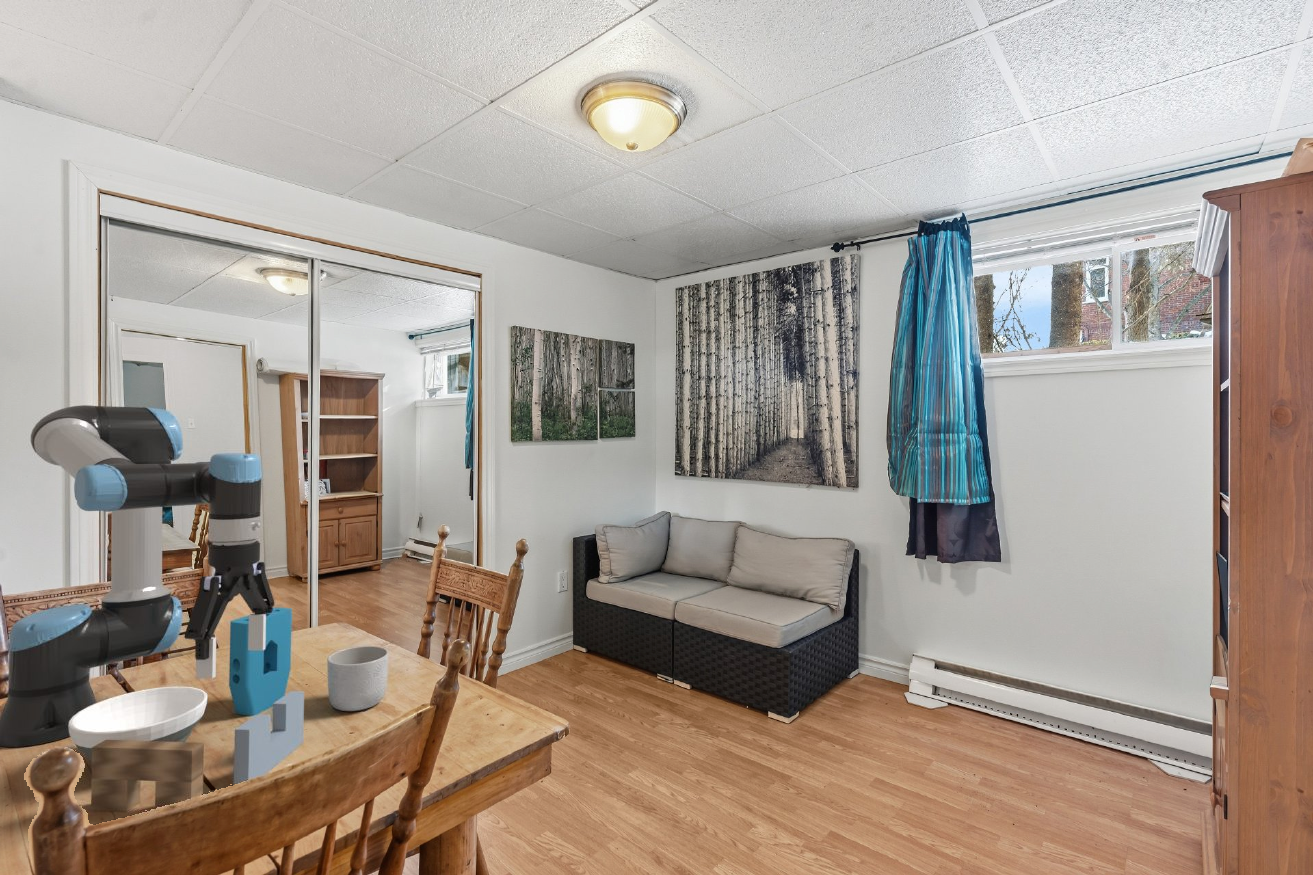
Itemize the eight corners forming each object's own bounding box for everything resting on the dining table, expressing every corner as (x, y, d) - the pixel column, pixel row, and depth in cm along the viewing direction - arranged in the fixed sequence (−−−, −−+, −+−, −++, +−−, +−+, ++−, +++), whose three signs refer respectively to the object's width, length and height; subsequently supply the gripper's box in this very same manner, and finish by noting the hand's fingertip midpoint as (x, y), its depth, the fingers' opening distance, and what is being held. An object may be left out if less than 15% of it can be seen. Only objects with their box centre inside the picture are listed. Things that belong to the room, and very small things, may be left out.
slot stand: (248, 788, 106) (249, 729, 106) (233, 788, 106) (234, 729, 106) (303, 742, 122) (304, 691, 122) (290, 742, 122) (291, 690, 122)
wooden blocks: (90, 810, 99) (92, 747, 99) (105, 800, 102) (106, 739, 102) (190, 813, 99) (192, 750, 99) (202, 804, 102) (203, 742, 102)
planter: (317, 703, 140) (318, 654, 140) (373, 687, 149) (374, 641, 149) (339, 721, 132) (340, 669, 132) (397, 703, 141) (398, 655, 141)
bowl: (41, 774, 109) (42, 719, 109) (163, 726, 127) (164, 679, 127) (111, 800, 102) (112, 742, 102) (230, 745, 120) (231, 696, 120)
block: (244, 719, 131) (247, 624, 131) (226, 716, 133) (228, 621, 132) (292, 697, 143) (293, 609, 143) (274, 694, 144) (276, 606, 144)
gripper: (206, 554, 98) (204, 691, 98) (296, 531, 123) (294, 640, 123) (158, 554, 98) (155, 691, 98) (257, 530, 123) (255, 639, 123)
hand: (232, 662), depth 110 cm, fingers open, 13 cm apart
